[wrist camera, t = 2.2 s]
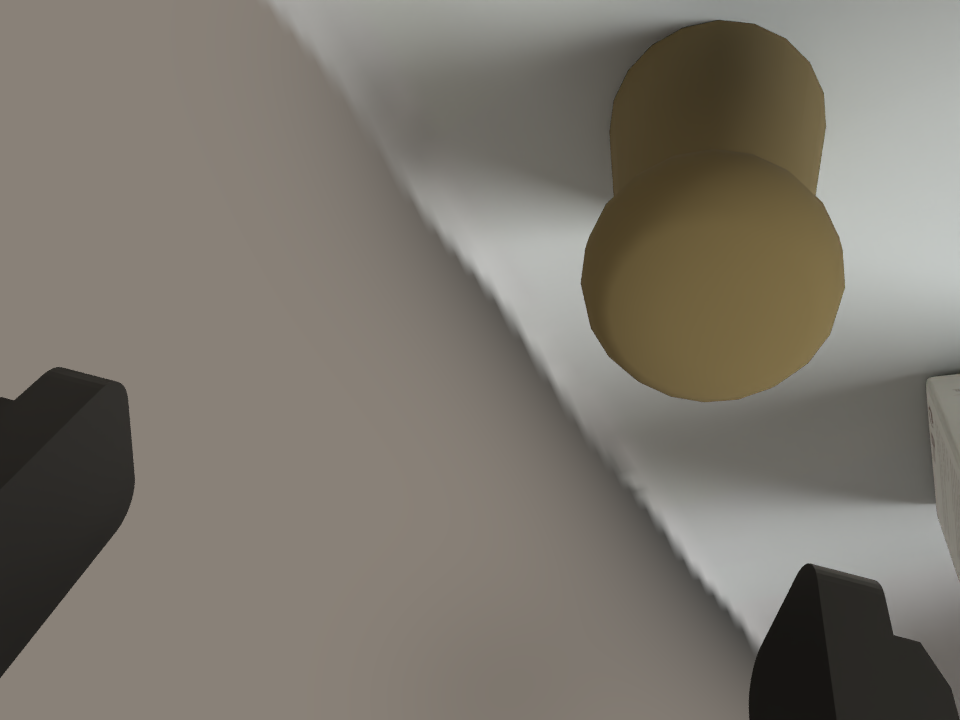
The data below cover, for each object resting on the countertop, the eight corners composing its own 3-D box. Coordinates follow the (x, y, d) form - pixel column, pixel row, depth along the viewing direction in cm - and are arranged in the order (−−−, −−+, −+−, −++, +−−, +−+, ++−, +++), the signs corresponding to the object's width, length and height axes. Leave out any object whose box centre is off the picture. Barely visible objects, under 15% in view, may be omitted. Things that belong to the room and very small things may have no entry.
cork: (646, 248, 29) (610, 471, 20) (580, 66, 26) (502, 228, 17) (848, 190, 26) (909, 415, 17) (796, -16, 24) (837, 123, 15)
